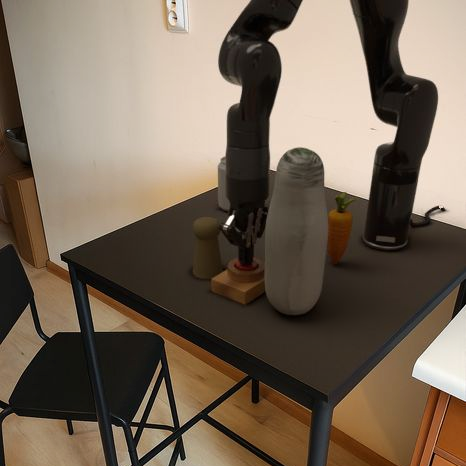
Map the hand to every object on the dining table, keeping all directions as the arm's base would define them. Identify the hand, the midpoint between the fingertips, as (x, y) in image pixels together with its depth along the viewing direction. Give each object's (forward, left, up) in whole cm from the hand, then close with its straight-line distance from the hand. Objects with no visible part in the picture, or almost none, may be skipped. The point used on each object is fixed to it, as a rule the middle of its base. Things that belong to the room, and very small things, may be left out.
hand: (246, 263), depth 109 cm
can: (-30, -26, -5) cm, 40 cm away
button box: (0, 0, -5) cm, 5 cm away
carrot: (-19, +9, -5) cm, 21 cm away
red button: (0, 0, -2) cm, 2 cm away
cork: (0, -9, -5) cm, 11 cm away
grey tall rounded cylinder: (+1, +11, -5) cm, 13 cm away
